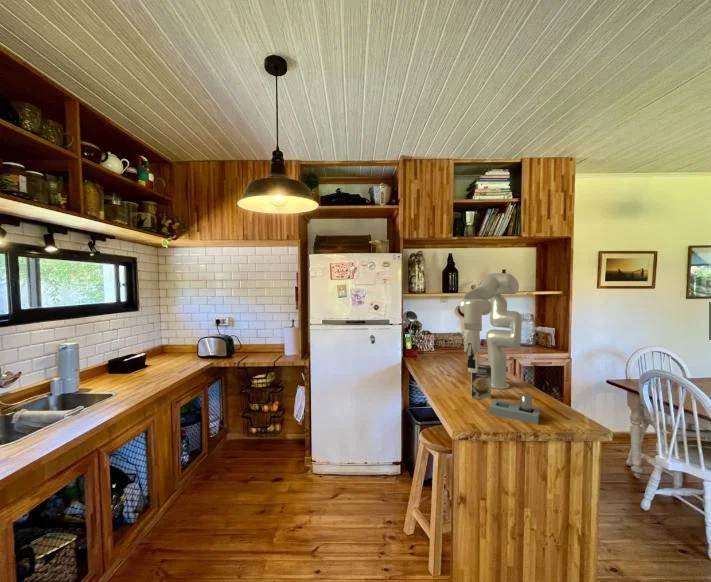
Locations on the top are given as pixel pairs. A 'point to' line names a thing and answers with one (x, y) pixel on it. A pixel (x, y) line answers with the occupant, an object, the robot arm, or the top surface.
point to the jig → (514, 411)
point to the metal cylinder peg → (526, 403)
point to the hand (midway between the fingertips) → (472, 366)
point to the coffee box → (481, 382)
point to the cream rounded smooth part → (475, 364)
